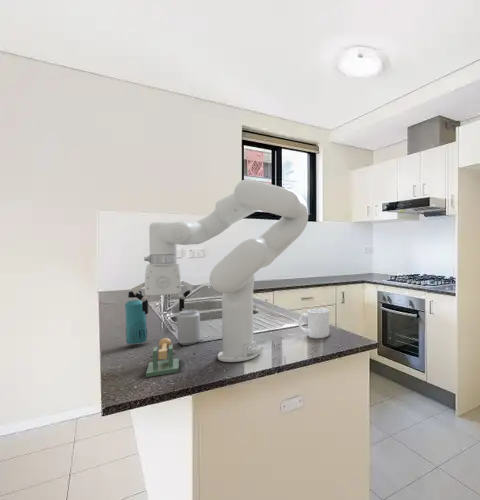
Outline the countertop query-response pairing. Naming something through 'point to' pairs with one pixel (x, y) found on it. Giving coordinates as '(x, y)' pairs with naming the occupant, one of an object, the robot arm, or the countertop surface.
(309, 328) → the cup
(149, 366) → the spoon stand
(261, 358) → the countertop surface
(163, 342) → the spoon
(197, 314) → the can
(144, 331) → the beverage bottle
